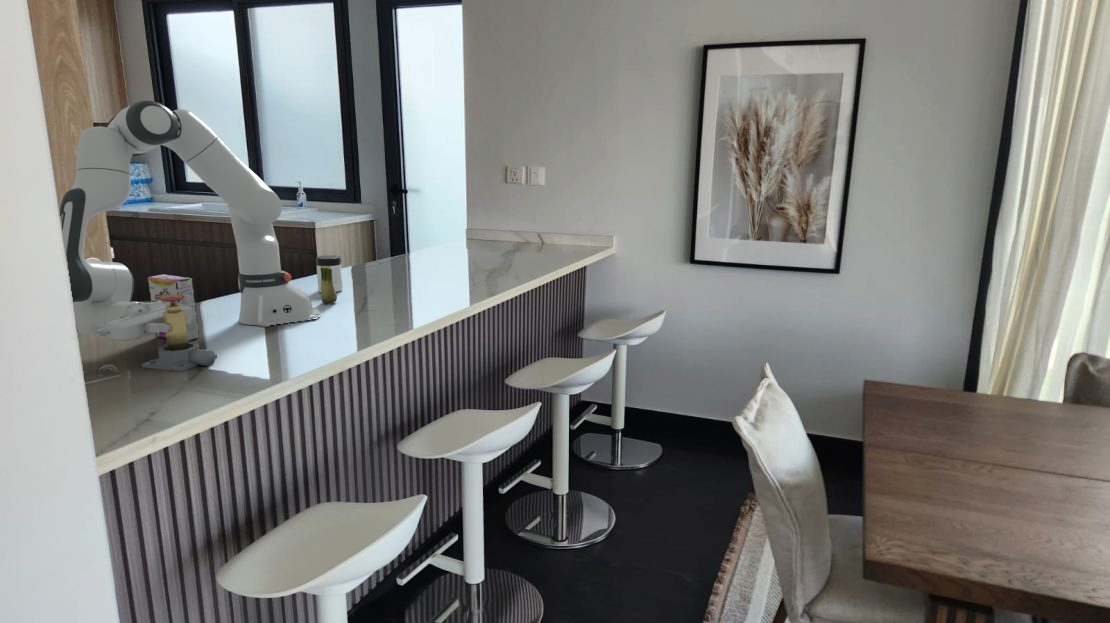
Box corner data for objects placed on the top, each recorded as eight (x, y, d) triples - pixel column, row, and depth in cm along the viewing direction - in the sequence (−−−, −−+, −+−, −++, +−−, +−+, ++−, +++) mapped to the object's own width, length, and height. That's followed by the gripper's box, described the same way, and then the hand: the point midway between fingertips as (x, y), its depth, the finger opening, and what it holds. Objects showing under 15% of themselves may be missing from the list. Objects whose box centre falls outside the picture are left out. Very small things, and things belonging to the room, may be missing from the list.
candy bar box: (154, 337, 182) (146, 277, 178) (171, 333, 186) (163, 273, 182) (183, 343, 177) (176, 280, 173) (200, 338, 182) (193, 277, 178)
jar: (324, 294, 236) (321, 259, 233) (313, 290, 241) (310, 257, 238) (348, 290, 242) (345, 257, 239) (337, 287, 247) (334, 254, 245)
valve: (191, 349, 164) (184, 293, 161) (190, 354, 160) (183, 297, 156) (168, 351, 162) (161, 295, 159) (166, 357, 158) (159, 299, 154)
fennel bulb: (321, 301, 224) (318, 265, 222) (336, 300, 226) (334, 264, 223) (321, 305, 219) (319, 268, 216) (337, 304, 221) (335, 267, 218)
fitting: (142, 367, 158) (140, 351, 157) (179, 353, 168) (177, 338, 167) (192, 372, 154) (190, 356, 153) (227, 358, 164) (225, 343, 163)
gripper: (89, 317, 152) (139, 322, 148) (162, 298, 171) (209, 302, 168) (93, 345, 153) (143, 350, 150) (166, 322, 173) (212, 327, 169)
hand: (178, 324), depth 159 cm, fingers closed on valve, 4 cm apart
